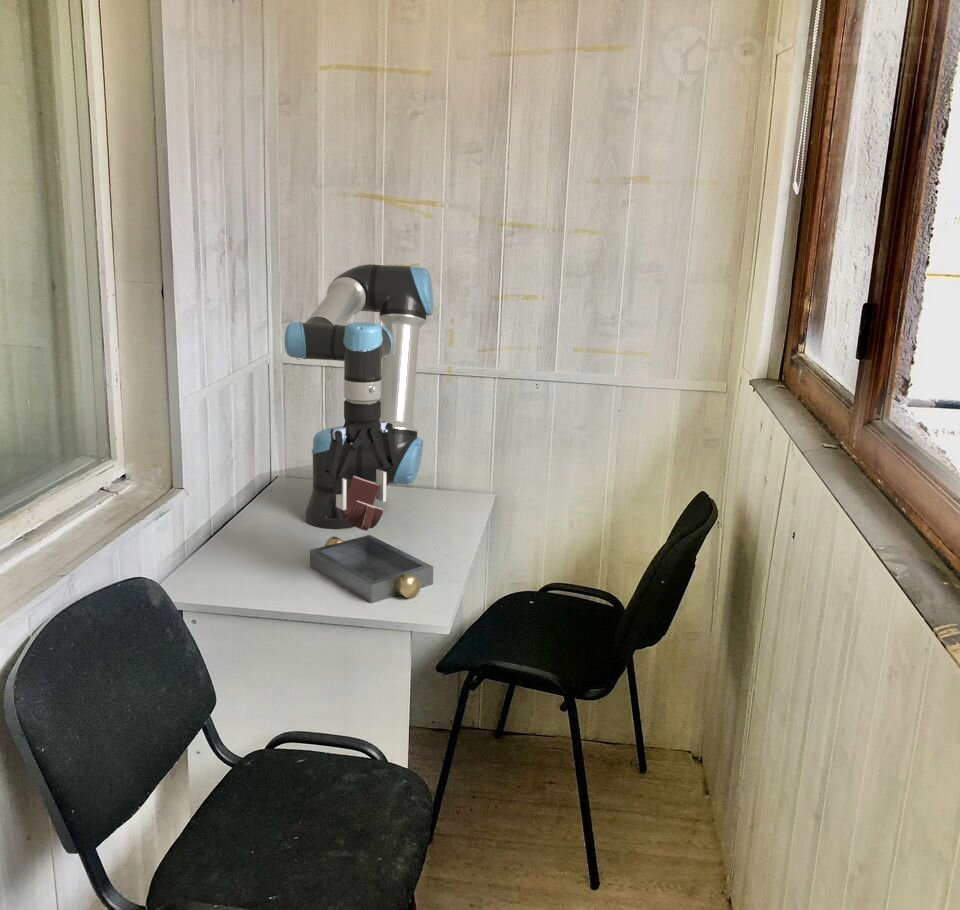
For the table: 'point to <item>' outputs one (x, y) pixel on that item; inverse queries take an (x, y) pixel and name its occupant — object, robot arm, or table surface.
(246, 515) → the table surface
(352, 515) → the bracket
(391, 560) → the cradle
